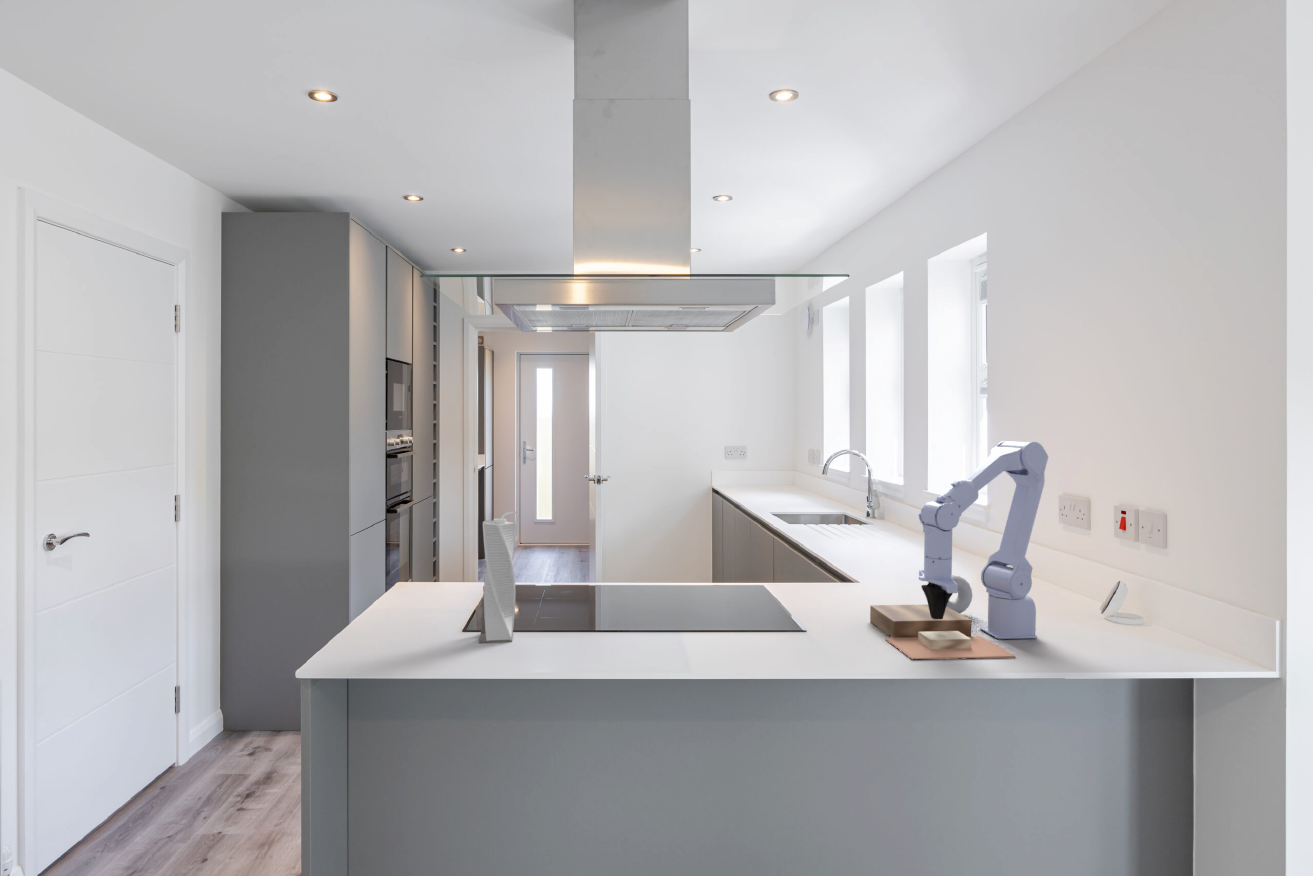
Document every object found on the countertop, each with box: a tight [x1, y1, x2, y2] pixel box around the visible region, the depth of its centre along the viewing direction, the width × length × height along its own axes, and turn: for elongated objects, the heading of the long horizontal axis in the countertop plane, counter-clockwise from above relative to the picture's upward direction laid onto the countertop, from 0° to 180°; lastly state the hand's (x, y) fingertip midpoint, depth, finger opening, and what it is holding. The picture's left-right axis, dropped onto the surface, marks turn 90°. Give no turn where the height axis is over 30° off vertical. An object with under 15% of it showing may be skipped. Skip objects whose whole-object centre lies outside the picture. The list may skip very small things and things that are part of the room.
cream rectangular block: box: [918, 631, 971, 649], centre depth 162 cm, size 9×6×2 cm, turn 94°
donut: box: [947, 574, 973, 614], centre depth 188 cm, size 10×4×10 cm, turn 99°
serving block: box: [869, 604, 973, 638], centre depth 175 cm, size 18×14×4 cm
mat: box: [884, 635, 1016, 661], centre depth 160 cm, size 22×14×1 cm, turn 95°
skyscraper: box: [478, 510, 520, 644], centre depth 165 cm, size 8×8×28 cm
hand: (936, 618), depth 166 cm, fingers closed
